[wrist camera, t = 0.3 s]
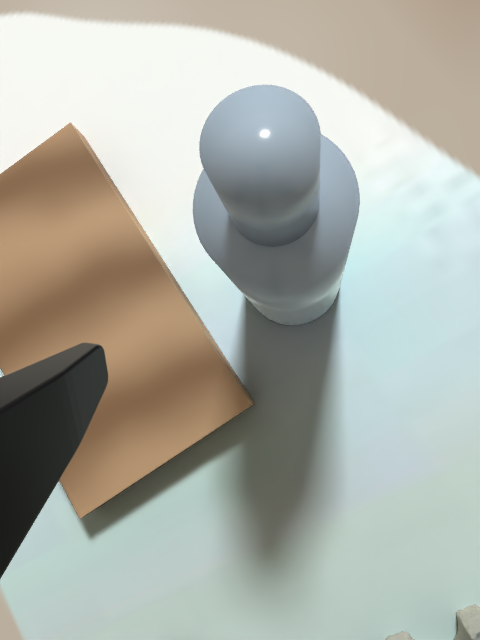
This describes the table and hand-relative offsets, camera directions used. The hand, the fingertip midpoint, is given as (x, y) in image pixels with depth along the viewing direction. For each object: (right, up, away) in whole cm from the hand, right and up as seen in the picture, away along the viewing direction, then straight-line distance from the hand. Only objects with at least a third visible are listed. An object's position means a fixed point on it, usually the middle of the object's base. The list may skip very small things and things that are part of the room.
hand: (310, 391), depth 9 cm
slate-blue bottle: (+1, +4, +14) cm, 15 cm away
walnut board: (-10, +2, +16) cm, 19 cm away
